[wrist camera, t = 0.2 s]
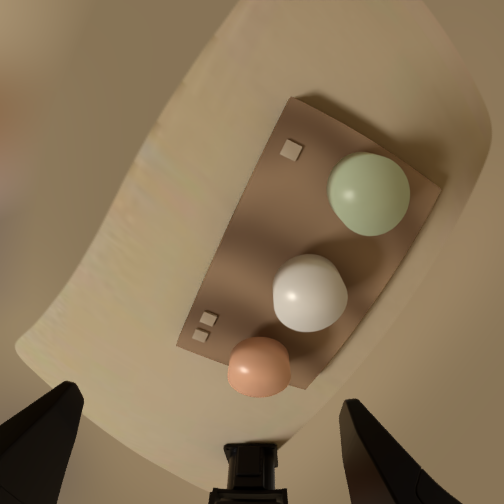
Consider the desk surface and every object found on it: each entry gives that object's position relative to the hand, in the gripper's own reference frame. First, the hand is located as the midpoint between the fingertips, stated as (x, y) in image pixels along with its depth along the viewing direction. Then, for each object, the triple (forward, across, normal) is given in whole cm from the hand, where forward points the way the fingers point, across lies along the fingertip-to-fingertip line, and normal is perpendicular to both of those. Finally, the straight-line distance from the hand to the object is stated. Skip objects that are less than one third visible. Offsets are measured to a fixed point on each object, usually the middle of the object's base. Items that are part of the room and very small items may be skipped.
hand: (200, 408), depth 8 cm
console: (+14, -5, +2) cm, 15 cm away
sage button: (+11, -8, -5) cm, 14 cm away
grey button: (+11, -5, +2) cm, 12 cm away
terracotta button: (+11, -2, +8) cm, 14 cm away
